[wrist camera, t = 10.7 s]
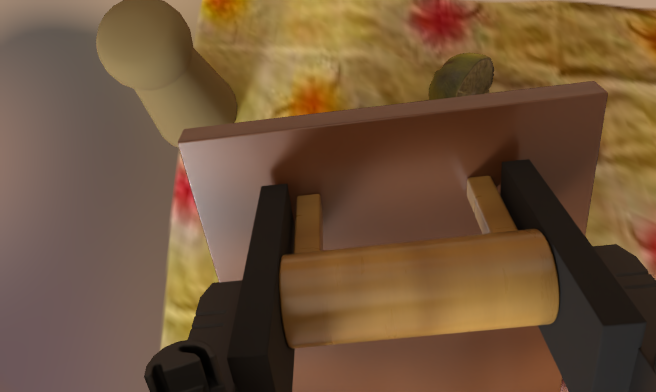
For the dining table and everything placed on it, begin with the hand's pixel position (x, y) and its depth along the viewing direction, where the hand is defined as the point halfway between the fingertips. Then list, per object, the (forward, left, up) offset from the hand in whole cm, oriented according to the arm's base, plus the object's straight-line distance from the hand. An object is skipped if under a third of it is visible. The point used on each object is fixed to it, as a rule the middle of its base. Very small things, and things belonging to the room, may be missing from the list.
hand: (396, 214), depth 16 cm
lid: (0, +3, -5) cm, 6 cm away
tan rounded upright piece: (+12, -14, -21) cm, 28 cm away
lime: (-6, -12, -21) cm, 25 cm away
